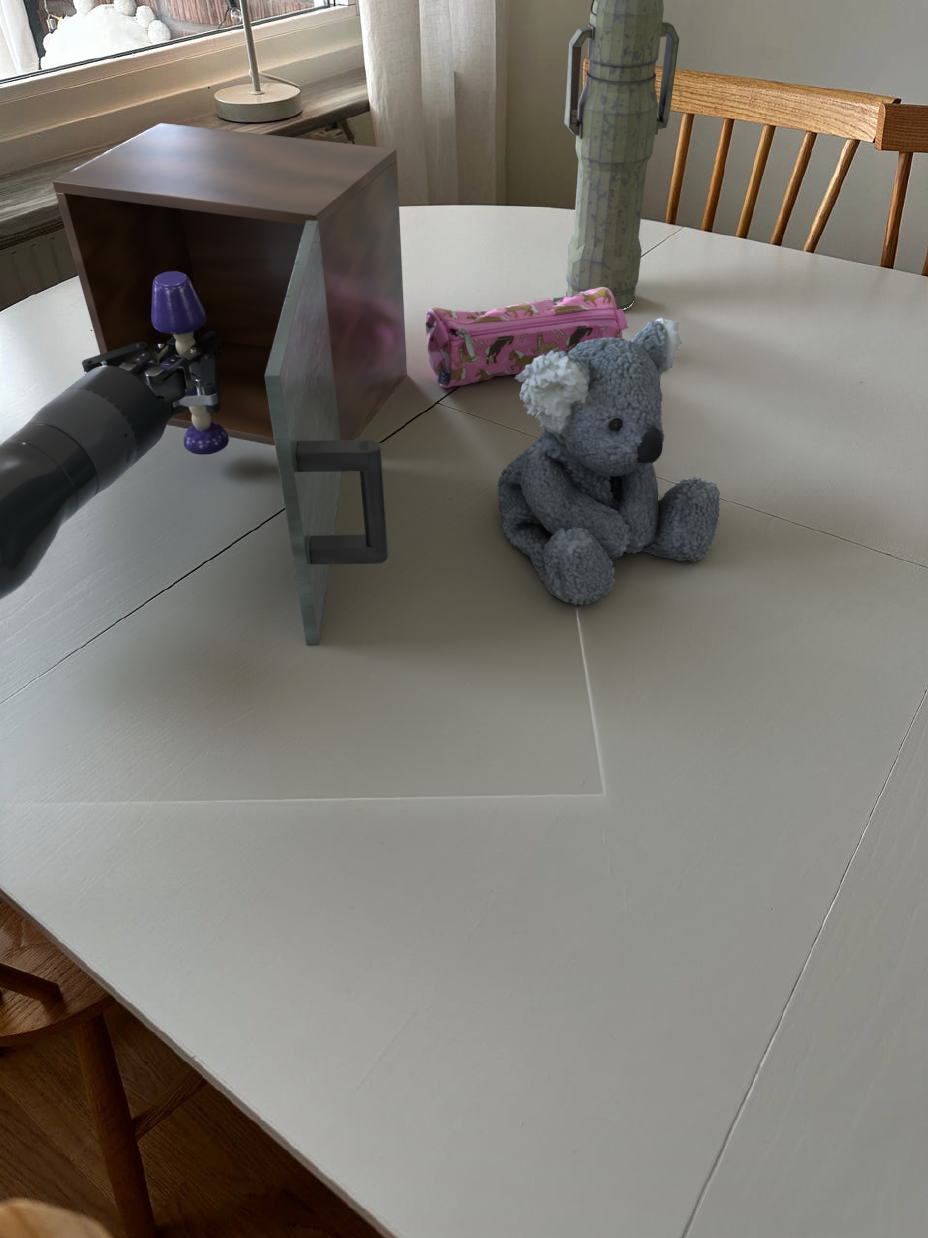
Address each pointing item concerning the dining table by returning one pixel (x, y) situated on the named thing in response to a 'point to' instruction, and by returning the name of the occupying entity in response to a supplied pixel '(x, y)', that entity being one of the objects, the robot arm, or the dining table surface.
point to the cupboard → (245, 255)
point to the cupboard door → (317, 441)
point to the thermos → (615, 138)
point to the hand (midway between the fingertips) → (205, 339)
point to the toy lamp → (180, 317)
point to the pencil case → (515, 334)
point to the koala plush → (601, 467)
